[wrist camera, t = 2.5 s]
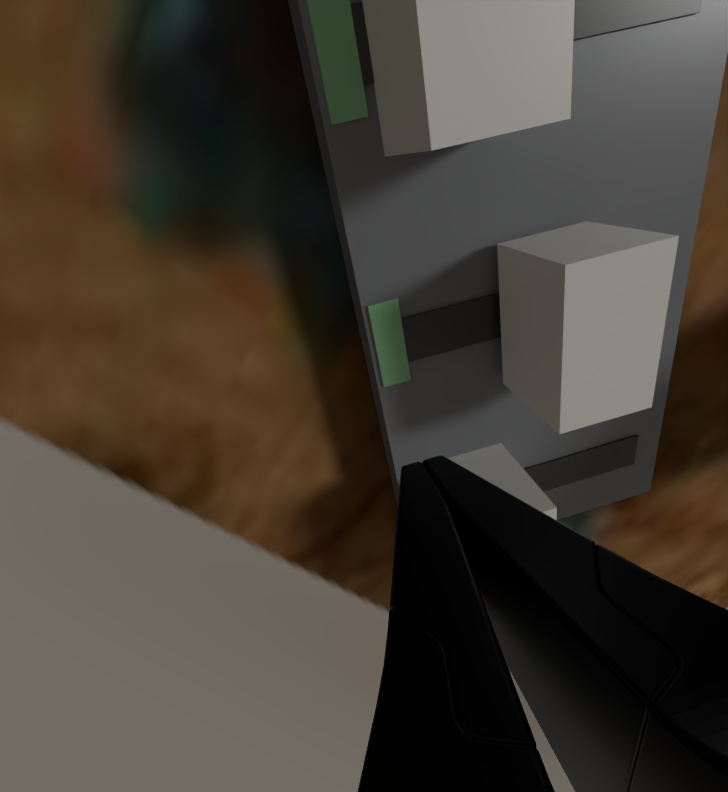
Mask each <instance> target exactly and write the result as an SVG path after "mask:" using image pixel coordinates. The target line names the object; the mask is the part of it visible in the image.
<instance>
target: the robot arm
mask: <svg viewBox="0 0 728 792" xmlns="http://www.w3.org/2000/svg"><path fill="white" fill-rule="evenodd" d="M390 609H391V610H390V611H389V621H388V633H387V642H386V650H385V658H384V666H383V672H382V677H381V683H380V688H379V694H378V700H377V705H376V709H375V714H374V719H373V723H372V728H371V733H370V737H369V742H368V747H367V751H366V756H365V761H364V766H363V770H362V775H361V779H360V784H359V788H358V792H555V791H554V789H553V787H552V784H551V782H550V779H549V777H548V775H547V772H546V769H545V767H544V764H543V762H542V759H541V756H540V754H539V752H538V750H537V749H536V742H535V740H534V737H533V734H532V732H531V729H530V726H529V723H528V721H527V718H526V715H525V713H524V710H523V708H522V705H521V702H520V699H519V697H518V694H517V691H516V689H515V686H514V683H513V680H512V677H511V675H510V672H509V669H510V671H511V673H512V675H513V677H514V679H515V680H516V682H517V684H518V686H519V687H520V690H521V691H522V693H523V695H524V697H525V699H526V701H527V702H528V705H529V706H530V708H531V710H532V712H533V714H534V716H535V718H536V719H537V721H538V723H539V725H540V727H541V729H542V730H543V732H544V734H545V736H546V738H547V740H548V742H549V744H550V745H551V747H552V749H553V751H554V753H555V755H556V756H557V758H558V760H559V762H560V764H561V766H562V768H563V769H564V771H565V773H566V775H567V777H568V779H569V781H570V782H571V784H572V786H573V788H574V790H575V792H728V610H726V609H724V608H722V607H720V606H718V605H716V604H714V603H711V602H709V601H707V600H705V599H703V598H701V597H699V596H697V595H695V594H693V593H691V592H688V591H686V590H684V589H682V588H680V587H678V586H676V585H674V584H672V583H670V582H668V581H666V580H664V579H662V578H660V577H658V576H656V575H654V574H652V573H650V572H648V571H647V570H645V569H643V568H641V567H639V566H637V565H636V564H634V563H632V562H630V561H628V560H626V559H624V558H623V557H621V556H619V555H617V554H615V553H614V552H612V551H610V550H608V549H607V548H605V547H603V546H601V545H599V544H597V545H596V546H595V542H594V541H592V540H590V539H589V538H587V537H585V536H583V535H582V534H580V533H578V532H576V531H575V530H573V529H571V528H569V527H568V526H566V525H564V524H562V523H561V522H559V521H557V520H555V519H554V518H552V517H550V516H548V515H547V514H545V513H543V512H541V511H539V510H538V509H536V508H534V507H532V506H531V505H529V504H527V503H525V502H524V501H522V500H520V499H518V498H517V497H515V496H513V495H511V494H510V493H508V492H506V491H504V490H503V489H501V488H499V487H497V486H496V485H494V484H492V483H490V482H488V481H487V480H485V479H483V478H481V477H480V476H478V475H476V474H474V473H473V472H471V471H469V470H467V469H466V468H464V467H462V466H460V465H459V464H457V463H455V462H453V461H452V460H450V459H448V458H446V457H445V456H442V455H439V456H435V457H432V458H428V459H425V460H424V461H423V462H414V463H411V464H407V465H404V466H403V467H402V468H401V476H400V489H399V501H398V513H397V526H396V538H395V550H394V563H393V575H392V588H391V600H390ZM507 666H508V667H509V669H508V667H507Z"/></svg>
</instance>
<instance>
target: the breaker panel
mask: <svg viewBox="0 0 728 792" xmlns="http://www.w3.org/2000/svg"><path fill="white" fill-rule="evenodd" d="M288 3H289V8H290V13H291V17H292V22H293V26H294V31H295V36H296V40H297V45H298V50H299V54H300V59H301V63H302V68H303V73H304V77H305V82H306V87H307V91H308V96H309V101H310V105H311V110H312V114H313V119H314V124H315V128H316V133H317V138H318V142H319V147H320V152H321V156H322V161H323V165H324V170H325V175H326V179H327V184H328V189H329V193H330V198H331V203H332V207H333V212H334V216H335V221H336V226H337V230H338V235H339V240H340V244H341V249H342V254H343V258H344V263H345V267H346V272H347V277H348V281H349V286H350V291H351V295H352V300H353V304H354V309H355V314H356V318H357V323H358V328H359V332H360V337H361V342H362V346H363V351H364V355H365V360H366V365H367V369H368V374H369V379H370V383H371V388H372V393H373V397H374V402H375V406H376V411H377V416H378V420H379V425H380V430H381V434H382V439H383V444H384V448H385V453H386V457H387V462H388V467H389V471H390V476H391V481H392V485H393V490H394V495H395V499H396V504H397V508H398V501H399V489H400V476H401V468H402V467H403V466H404V465H407V464H411V463H414V462H423V461H424V460H425V459H428V458H432V457H435V456H439V455H442V456H445V457H446V458H448V459H450V460H452V461H453V462H455V463H457V464H459V465H460V466H462V467H464V468H466V469H467V470H469V471H471V472H473V473H474V474H476V475H478V476H480V477H481V478H483V479H485V480H487V481H488V482H490V483H492V484H494V485H496V486H497V487H499V488H501V489H503V490H504V491H506V492H508V493H510V494H511V495H513V496H515V497H517V498H518V499H520V500H522V501H524V502H525V503H527V504H529V505H531V506H532V507H534V508H536V509H538V510H539V511H541V512H543V513H545V514H547V515H548V516H550V517H552V518H554V519H555V520H559V519H562V518H565V517H568V516H571V515H575V514H578V513H581V512H584V511H588V510H591V509H594V508H597V507H600V506H604V505H607V504H610V503H613V502H617V501H620V500H623V499H626V498H630V497H633V496H636V495H639V494H642V493H646V492H649V491H650V489H651V483H652V478H653V472H654V466H655V461H656V455H657V449H658V444H659V438H660V433H661V427H662V421H663V416H664V410H665V404H666V399H667V393H668V387H669V382H670V376H671V370H672V365H673V359H674V353H675V348H676V342H677V336H678V331H679V325H680V319H681V314H682V308H683V302H684V297H685V291H686V285H687V280H688V274H689V268H690V263H691V257H692V251H693V246H694V240H695V234H696V229H697V223H698V217H699V212H700V206H701V200H702V195H703V189H704V183H705V178H706V172H707V166H708V161H709V155H710V149H711V144H712V138H713V132H714V127H715V121H716V115H717V110H718V104H719V98H720V93H721V87H722V81H723V76H724V70H725V64H726V59H727V53H728V0H288ZM585 221H588V222H594V223H601V224H607V225H614V226H620V227H627V228H633V229H640V230H646V231H652V232H659V233H665V234H672V235H678V236H679V239H678V245H677V252H676V258H675V264H674V270H673V277H672V283H671V289H670V296H669V302H668V308H667V315H666V321H665V327H664V333H663V340H662V346H661V352H660V359H659V365H658V371H657V378H656V384H655V390H654V396H653V403H652V407H651V408H647V409H644V410H641V411H637V412H634V413H630V414H627V415H624V416H620V417H617V418H613V419H610V420H606V421H603V422H600V423H596V424H593V425H589V426H586V427H583V428H579V429H576V430H572V431H569V432H566V433H562V434H559V433H558V432H557V431H555V430H554V429H553V428H552V427H551V426H550V425H549V424H548V423H546V422H545V421H544V420H543V419H542V418H541V417H540V416H539V415H538V414H536V413H535V412H534V411H533V410H532V409H531V408H530V407H529V406H528V405H526V404H525V403H524V402H523V401H522V400H521V399H520V398H519V397H518V396H516V395H515V394H514V393H513V392H512V391H511V390H510V389H509V388H507V387H506V386H505V385H504V384H503V371H502V347H501V323H500V299H499V275H498V251H497V244H498V243H502V242H506V241H510V240H514V239H518V238H522V237H526V236H530V235H534V234H538V233H542V232H546V231H550V230H554V229H558V228H562V227H566V226H570V225H574V224H578V223H582V222H585Z"/></svg>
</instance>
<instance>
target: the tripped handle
mask: <svg viewBox="0 0 728 792" xmlns="http://www.w3.org/2000/svg"><path fill="white" fill-rule="evenodd" d="M678 239H679V236H678V235H672V234H665V233H659V232H652V231H646V230H640V229H633V228H627V227H620V226H614V225H607V224H601V223H594V222H588V221H585V222H582V223H578V224H574V225H570V226H566V227H562V228H558V229H554V230H550V231H546V232H542V233H538V234H534V235H530V236H526V237H522V238H518V239H514V240H510V241H506V242H502V243H498V244H497V251H498V275H499V299H500V323H501V347H502V371H503V384H504V385H505V386H506V387H507V388H509V389H510V390H511V391H512V392H513V393H514V394H515V395H516V396H518V397H519V398H520V399H521V400H522V401H523V402H524V403H525V404H526V405H528V406H529V407H530V408H531V409H532V410H533V411H534V412H535V413H536V414H538V415H539V416H540V417H541V418H542V419H543V420H544V421H545V422H546V423H548V424H549V425H550V426H551V427H552V428H553V429H554V430H555V431H557V432H558V433H559V434H562V433H566V432H569V431H572V430H576V429H579V428H583V427H586V426H589V425H593V424H596V423H600V422H603V421H606V420H610V419H613V418H617V417H620V416H624V415H627V414H630V413H634V412H637V411H641V410H644V409H647V408H651V407H652V403H653V396H654V390H655V384H656V378H657V371H658V365H659V359H660V352H661V346H662V340H663V333H664V327H665V321H666V315H667V308H668V302H669V296H670V289H671V283H672V277H673V270H674V264H675V258H676V252H677V245H678Z"/></svg>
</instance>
